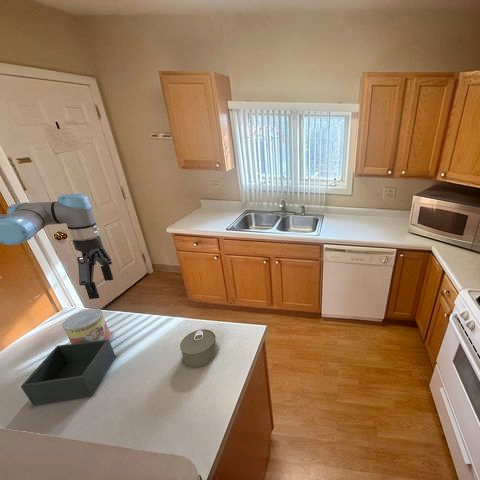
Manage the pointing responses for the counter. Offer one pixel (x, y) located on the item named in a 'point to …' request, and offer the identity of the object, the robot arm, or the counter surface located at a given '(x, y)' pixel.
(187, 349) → the can
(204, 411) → the counter surface
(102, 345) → the open dark gray bin
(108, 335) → the canned food
